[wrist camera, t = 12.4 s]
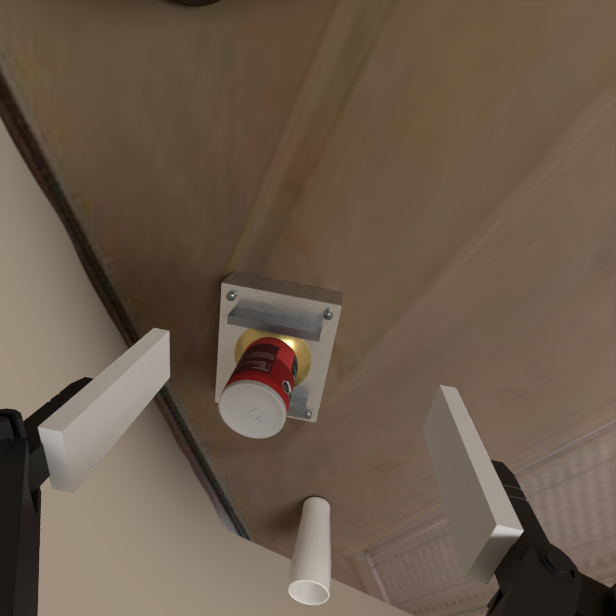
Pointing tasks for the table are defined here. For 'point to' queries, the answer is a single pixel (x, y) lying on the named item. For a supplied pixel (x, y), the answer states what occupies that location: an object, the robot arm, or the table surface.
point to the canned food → (260, 389)
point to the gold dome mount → (279, 331)
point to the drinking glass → (312, 554)
